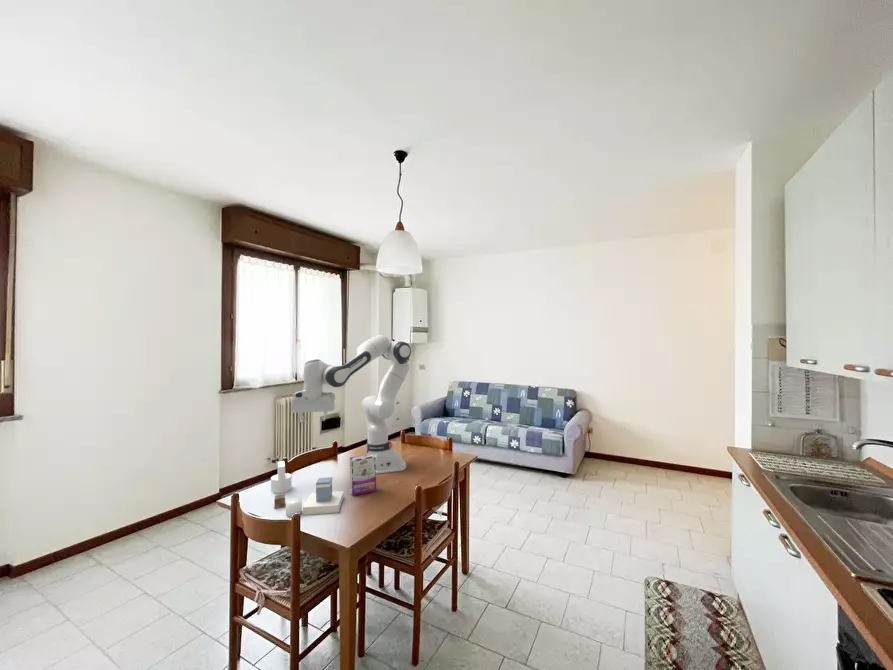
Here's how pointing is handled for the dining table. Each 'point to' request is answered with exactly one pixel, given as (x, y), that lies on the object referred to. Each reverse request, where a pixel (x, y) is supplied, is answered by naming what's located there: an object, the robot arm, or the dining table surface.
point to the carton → (324, 489)
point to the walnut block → (279, 501)
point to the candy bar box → (362, 474)
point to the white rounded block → (293, 506)
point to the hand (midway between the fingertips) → (313, 420)
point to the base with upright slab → (281, 480)
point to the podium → (323, 504)
